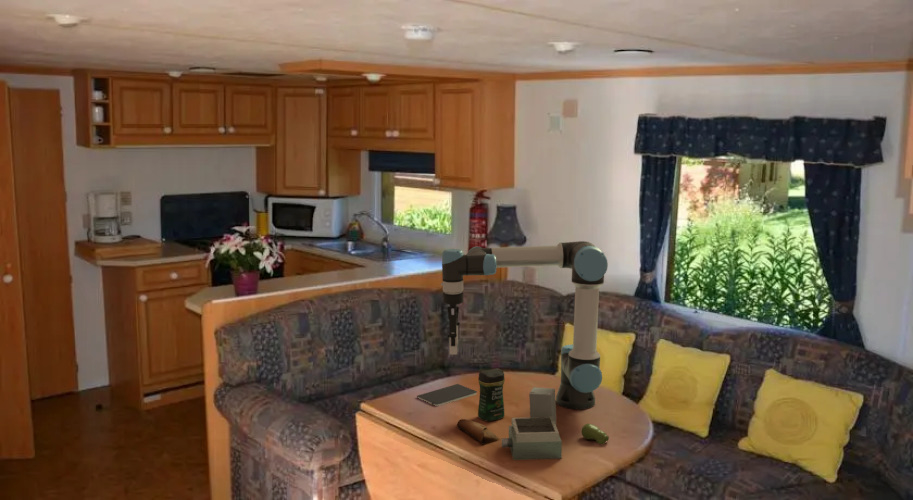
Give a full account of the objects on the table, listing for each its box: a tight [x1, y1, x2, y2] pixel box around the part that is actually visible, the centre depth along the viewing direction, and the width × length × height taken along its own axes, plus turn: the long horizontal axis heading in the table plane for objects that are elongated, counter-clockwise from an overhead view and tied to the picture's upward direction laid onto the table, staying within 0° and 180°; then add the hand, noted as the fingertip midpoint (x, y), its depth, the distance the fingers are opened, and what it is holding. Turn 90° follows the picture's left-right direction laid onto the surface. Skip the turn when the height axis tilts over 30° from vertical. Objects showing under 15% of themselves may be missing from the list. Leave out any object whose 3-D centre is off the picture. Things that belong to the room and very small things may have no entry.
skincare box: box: [528, 386, 557, 426], centre depth 287 cm, size 8×7×16 cm
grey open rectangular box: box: [501, 416, 563, 461], centre depth 272 cm, size 19×14×9 cm
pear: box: [581, 423, 610, 445], centre depth 281 cm, size 6×5×10 cm
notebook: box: [416, 383, 477, 407], centre depth 325 cm, size 13×2×21 cm
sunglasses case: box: [456, 418, 501, 446], centre depth 287 cm, size 18×7×7 cm
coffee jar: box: [477, 367, 506, 422], centre depth 301 cm, size 10×8×19 cm
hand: (454, 348), depth 296 cm, fingers open, 13 cm apart
